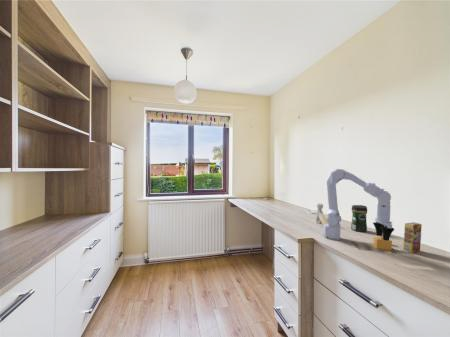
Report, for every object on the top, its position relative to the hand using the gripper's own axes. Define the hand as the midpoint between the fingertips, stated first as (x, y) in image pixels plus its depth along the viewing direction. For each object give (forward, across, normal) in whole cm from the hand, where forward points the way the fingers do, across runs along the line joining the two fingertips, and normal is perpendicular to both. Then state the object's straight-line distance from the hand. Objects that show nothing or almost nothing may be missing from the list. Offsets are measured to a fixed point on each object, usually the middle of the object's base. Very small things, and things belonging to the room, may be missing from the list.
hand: (382, 237), depth 117 cm
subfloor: (+7, 0, +4) cm, 8 cm away
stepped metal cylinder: (+7, +10, -4) cm, 13 cm away
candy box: (+7, +4, -16) cm, 18 cm away
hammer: (+7, +39, +22) cm, 46 cm away
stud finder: (+6, 0, 0) cm, 6 cm away
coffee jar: (+7, +40, -2) cm, 41 cm away
